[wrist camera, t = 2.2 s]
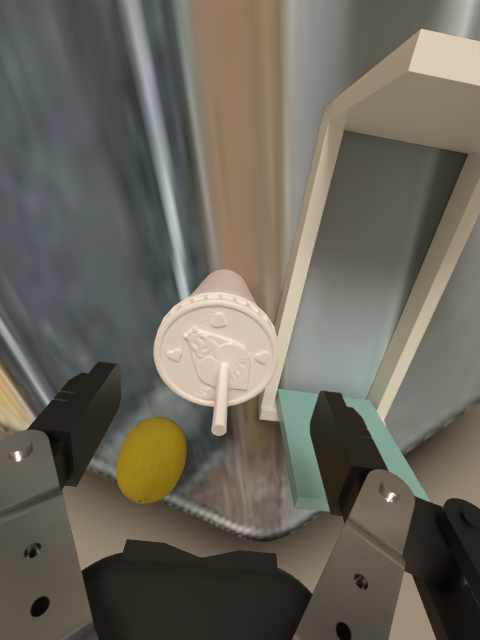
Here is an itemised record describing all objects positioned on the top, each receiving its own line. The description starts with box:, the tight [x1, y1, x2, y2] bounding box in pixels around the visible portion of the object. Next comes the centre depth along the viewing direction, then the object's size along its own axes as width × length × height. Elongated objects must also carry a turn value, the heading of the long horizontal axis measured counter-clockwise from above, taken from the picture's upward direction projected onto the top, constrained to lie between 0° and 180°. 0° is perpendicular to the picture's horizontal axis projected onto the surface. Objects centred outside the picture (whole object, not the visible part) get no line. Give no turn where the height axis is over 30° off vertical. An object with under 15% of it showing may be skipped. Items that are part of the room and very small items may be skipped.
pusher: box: [276, 389, 430, 511], centre depth 23 cm, size 8×1×10 cm, turn 81°
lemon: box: [116, 417, 187, 504], centre depth 26 cm, size 6×6×8 cm
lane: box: [258, 29, 480, 426], centre depth 19 cm, size 11×23×11 cm, turn 171°
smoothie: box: [154, 270, 279, 436], centre depth 18 cm, size 6×6×14 cm
